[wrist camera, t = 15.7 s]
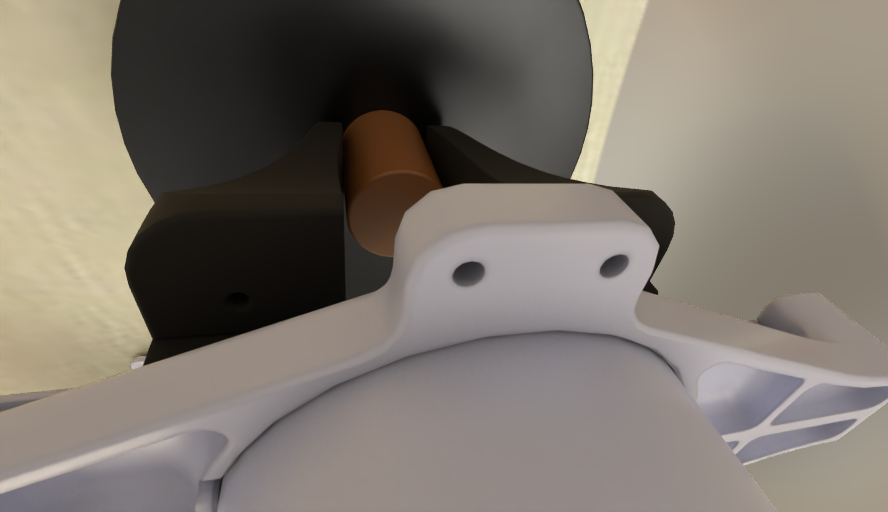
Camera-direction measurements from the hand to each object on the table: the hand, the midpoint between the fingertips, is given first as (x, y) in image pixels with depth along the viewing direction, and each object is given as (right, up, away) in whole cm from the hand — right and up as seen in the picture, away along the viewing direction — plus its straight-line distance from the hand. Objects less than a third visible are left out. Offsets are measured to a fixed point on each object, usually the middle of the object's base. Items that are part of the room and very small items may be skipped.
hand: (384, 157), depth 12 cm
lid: (0, +1, +1) cm, 1 cm away
